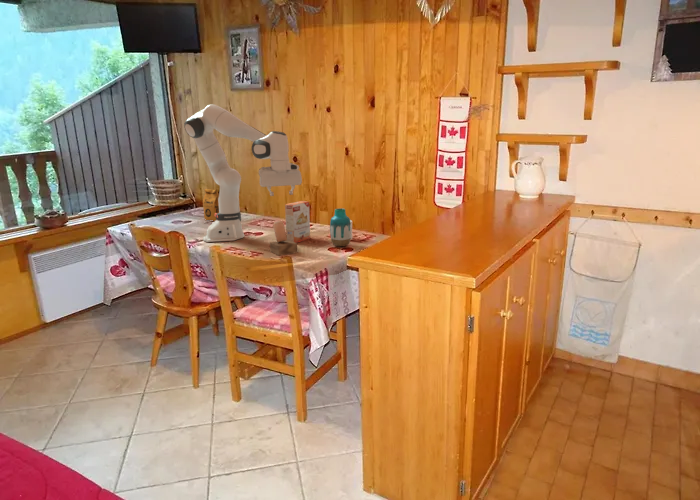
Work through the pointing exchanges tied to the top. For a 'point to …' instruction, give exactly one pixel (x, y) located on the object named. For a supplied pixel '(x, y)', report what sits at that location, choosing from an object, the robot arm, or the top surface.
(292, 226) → the cracker box
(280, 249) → the walnut block
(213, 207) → the coffee package
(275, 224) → the canister
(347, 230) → the vase
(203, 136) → the robot arm
